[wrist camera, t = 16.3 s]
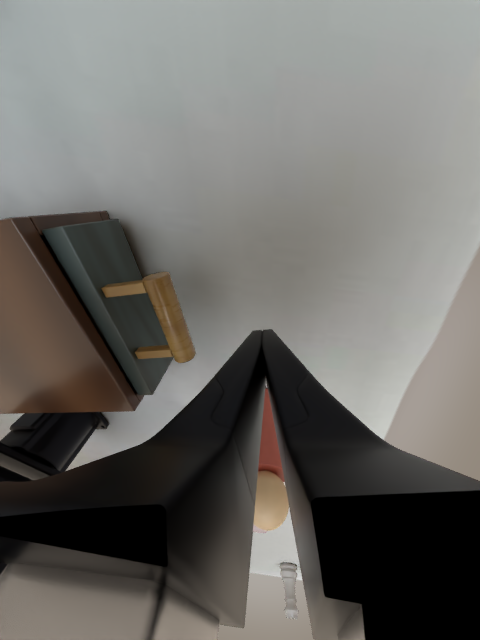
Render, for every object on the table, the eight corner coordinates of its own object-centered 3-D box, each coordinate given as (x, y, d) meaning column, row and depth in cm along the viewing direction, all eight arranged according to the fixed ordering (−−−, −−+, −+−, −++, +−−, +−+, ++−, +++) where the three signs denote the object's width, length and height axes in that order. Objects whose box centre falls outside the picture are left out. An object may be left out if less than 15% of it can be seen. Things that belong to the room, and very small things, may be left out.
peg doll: (281, 409, 22) (293, 540, 14) (250, 409, 23) (244, 536, 14) (279, 387, 21) (292, 521, 12) (246, 388, 21) (236, 517, 13)
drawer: (176, 208, 12) (138, 211, 9) (215, 353, 18) (203, 394, 14) (-23, 244, 15) (-119, 260, 11) (67, 363, 20) (23, 400, 17)
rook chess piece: (280, 566, 56) (282, 618, 49) (279, 561, 53) (281, 615, 46) (296, 568, 55) (301, 620, 48) (296, 563, 53) (301, 618, 46)
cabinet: (106, 210, 14) (10, 217, 8) (168, 355, 20) (134, 411, 15) (-38, 238, 16) (-190, 258, 10) (59, 362, 22) (-5, 414, 17)
